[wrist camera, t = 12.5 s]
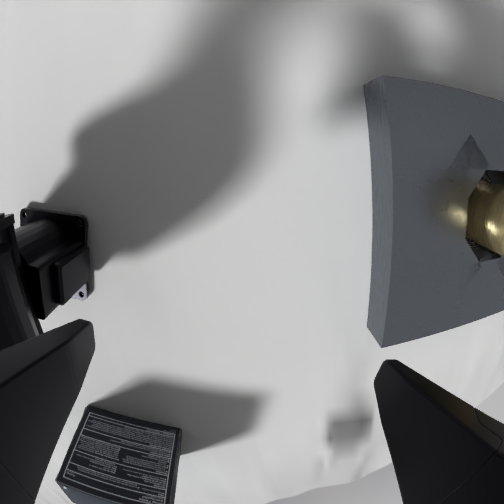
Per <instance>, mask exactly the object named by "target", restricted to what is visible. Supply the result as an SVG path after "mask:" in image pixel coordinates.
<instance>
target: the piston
mask: <svg viewBox="0 0 504 504" xmlns="http://www.w3.org/2000/svg"><path fill="white" fill-rule="evenodd" d="M465 238H467V239H470V240H472V241H474V242H476V243H478V244H480V245H482V246H484V247H486V248H488V249H490V250H492V251H494V252H496V253H498V254H500V255H502V256H504V185H501V184H496V183H492V182H487V181H483V180H480V181H479V182H478V184H477V185H476V187H475V189H474V190H473V192H472V193H471V195H470V196H469V198H468V211H467V226H466V237H465Z"/></svg>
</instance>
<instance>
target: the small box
mask: <svg viewBox="0 0 504 504" xmlns="http://www.w3.org/2000/svg"><path fill="white" fill-rule="evenodd" d="M181 433H182V430H181V429H179V428H174V427H169V426H163V425H159V424H154V423H149V422H145V421H141V420H136V419H133V418H129V417H125V416H121V415H117V414H114V413H110V412H107V411H104V410H100V409H97V408H94V407H91V406H87V407H86V408H85V410H84V414H83V417H82V419H81V421H80V423H79V425H78V428H77V430H76V432H75V434H74V437H73V439H72V441H71V444H70V446H69V449H68V451H67V454H66V456H65V458H64V461H63V464H62V466H61V469H60V471H59V473H58V475H57V477H56V479H55V481H56V482H57V484H58V485H59V486H60V488H61V489H62V490H63V491H64V493H65V494H66V495H67V496H68V497H69V498H70V500H71V501H72V502H73V503H76V504H174V499H175V491H176V482H177V473H178V465H179V457H180V448H181Z"/></svg>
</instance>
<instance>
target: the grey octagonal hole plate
mask: <svg viewBox="0 0 504 504" xmlns="http://www.w3.org/2000/svg"><path fill="white" fill-rule="evenodd" d="M363 86H364V93H365V101H366V110H367V119H368V129H369V140H370V154H371V171H372V202H373V238H372V268H371V286H370V300H369V311H368V322H367V328H368V329H369V330H370V332H371V333H372V335H373V336H374V338H375V339H376V341H377V342H378V344H379V345H380V347H381V348H384V347H388V346H392V345H396V344H400V343H404V342H408V341H411V340H415V339H419V338H422V337H426V336H430V335H433V334H436V333H440V332H443V331H446V330H449V329H453V328H456V327H459V326H462V325H465V324H468V323H471V322H473V321H476V320H479V319H482V318H485V317H487V316H490V315H493V314H495V313H498V312H501V311H503V310H504V256H502V255H500V254H498V253H496V252H494V251H492V250H490V249H488V248H486V247H484V246H482V245H480V246H479V247H474V248H471V247H470V246H469V244H468V242H467V241H466V239H465V237H466V226H467V211H468V198H469V196H470V195H471V193H472V192H473V190H474V189H475V187H476V185H477V184H478V182H479V181H480V179H481V177H482V176H483V174H484V173H485V171H486V173H487V175H488V176H489V178H490V180H491V182H492V183H496V184H501V185H504V102H502V101H499V100H495V99H492V98H489V97H486V96H482V95H479V94H475V93H472V92H468V91H464V90H460V89H456V88H452V87H447V86H443V85H438V84H433V83H428V82H422V81H416V80H410V79H404V78H396V77H389V76H382V77H380V78H377V79H375V80H373V81H371V82H369V83H367V84H365V85H363Z"/></svg>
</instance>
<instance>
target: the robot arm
mask: <svg viewBox="0 0 504 504" xmlns="http://www.w3.org/2000/svg"><path fill="white" fill-rule="evenodd" d="M25 212H26V215H27V216H26V215H25ZM79 220H81V222H82V226H81V225H80V224H79ZM14 223H15V220H14V214H8V215H5V214H4V213H0V504H34V503H35V500H36V497H37V494H38V491H39V488H40V485H41V482H42V480H43V477H44V474H45V472H46V469H47V466H48V464H49V461H50V459H51V456H52V454H53V451H54V449H55V446H56V444H57V441H58V439H59V437H60V434H61V432H62V430H63V427H64V425H65V423H66V421H67V418H68V416H69V414H70V412H71V410H72V407H73V405H74V403H75V401H76V399H77V397H78V395H79V392H80V390H81V387H82V384H83V382H84V379H85V376H86V373H87V370H88V367H89V365H90V362H91V359H92V356H93V354H94V351H95V339H94V330H93V325H92V323H91V322H90V321H86V320H83V319H78V320H75V321H73V322H70V323H68V324H65V325H63V326H60V327H58V328H55V329H53V330H50V331H48V332H45V333H43V331H42V328H41V325H40V322H39V320H38V318H39V319H42V320H44V319H45V318H46V317H47V316H48V315H49V314H50V313H51V312H52V311H53V310H54V309H55V308H56V307H57V306H58V305H64V304H65V303H66V302H67V301H68V300H69V299H70V298H75V299H79V300H86V298H87V297H88V296H89V286H88V281H89V280H90V268H89V247H88V246H87V232H88V222H87V219H86V217H85V216H83V215H77V214H70V213H63V212H56V211H48V210H41V209H34V208H24V209H22V210H21V212H20V226H21V227H19V228H17V229H14ZM81 292H83V293H84V295H82V294H81ZM374 388H375V393H376V398H377V403H378V408H379V413H380V418H381V423H382V427H383V430H384V433H385V437H386V440H387V444H388V447H389V451H390V454H391V458H392V461H393V465H394V469H395V472H396V476H397V480H398V484H399V488H400V492H401V496H402V501H403V504H504V424H503V423H501V422H499V421H497V420H495V419H493V418H491V417H490V416H488V415H486V414H484V413H483V412H481V411H480V410H478V409H476V408H474V407H473V406H471V405H470V404H468V403H466V402H465V401H463V400H461V399H460V398H458V397H456V396H455V395H453V394H451V393H450V392H448V391H446V390H445V389H443V388H442V387H440V386H438V385H437V384H435V383H433V382H432V381H430V380H429V379H427V378H425V377H424V376H422V375H420V374H419V373H417V372H416V371H414V370H412V369H411V368H409V367H407V366H406V365H404V364H403V363H401V362H399V361H398V360H395V359H393V360H385V361H384V362H383V363H382V365H381V367H380V369H379V371H378V373H377V375H376V377H375V380H374Z"/></svg>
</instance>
